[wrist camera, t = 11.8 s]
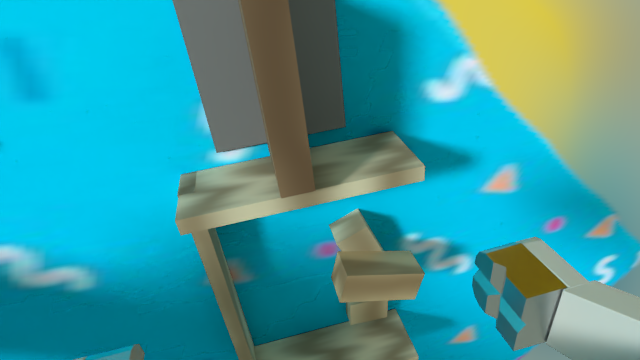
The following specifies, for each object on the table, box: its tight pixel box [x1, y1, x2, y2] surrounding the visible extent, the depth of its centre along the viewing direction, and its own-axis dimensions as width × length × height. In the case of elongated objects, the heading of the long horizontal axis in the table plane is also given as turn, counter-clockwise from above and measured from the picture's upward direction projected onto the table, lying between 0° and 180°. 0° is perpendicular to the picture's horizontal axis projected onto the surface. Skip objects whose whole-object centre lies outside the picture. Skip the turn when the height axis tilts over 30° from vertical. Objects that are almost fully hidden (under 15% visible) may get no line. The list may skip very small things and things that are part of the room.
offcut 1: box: [329, 209, 384, 251], centre depth 37 cm, size 3×8×3 cm, turn 29°
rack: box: [175, 131, 425, 360], centre depth 35 cm, size 17×23×6 cm
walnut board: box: [238, 0, 316, 199], centre depth 24 cm, size 2×12×7 cm, turn 7°
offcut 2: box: [331, 251, 425, 303], centre depth 35 cm, size 3×7×3 cm, turn 80°
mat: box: [173, 0, 346, 153], centre depth 27 cm, size 10×11×1 cm
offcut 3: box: [346, 300, 388, 325], centre depth 42 cm, size 4×3×2 cm
